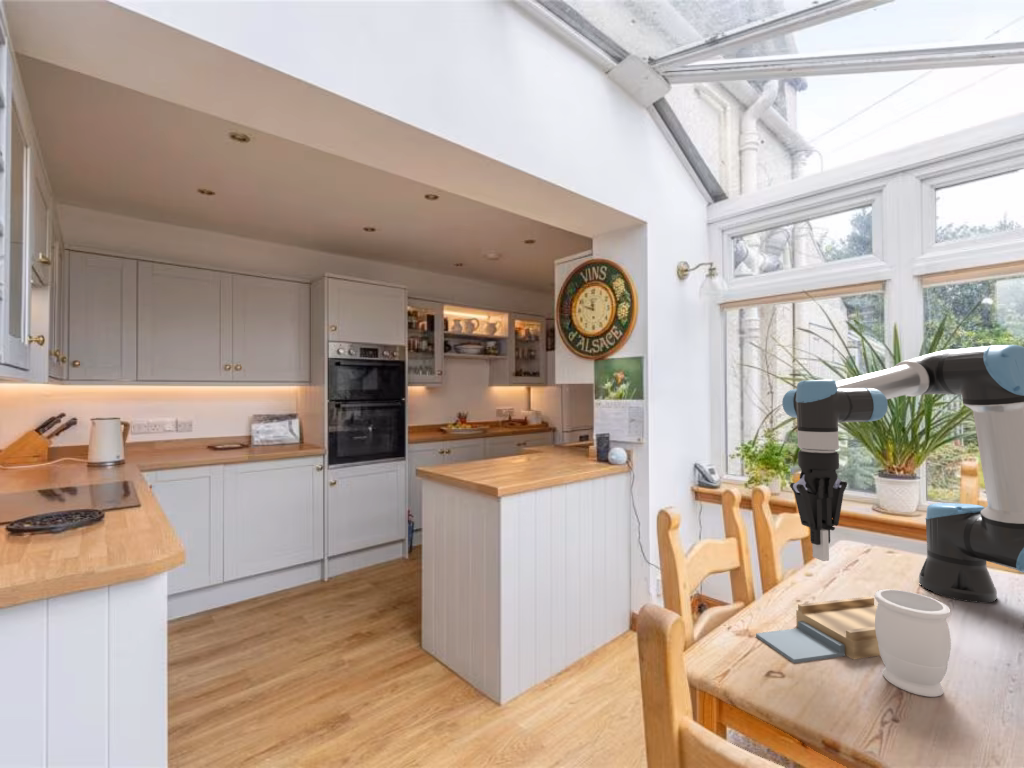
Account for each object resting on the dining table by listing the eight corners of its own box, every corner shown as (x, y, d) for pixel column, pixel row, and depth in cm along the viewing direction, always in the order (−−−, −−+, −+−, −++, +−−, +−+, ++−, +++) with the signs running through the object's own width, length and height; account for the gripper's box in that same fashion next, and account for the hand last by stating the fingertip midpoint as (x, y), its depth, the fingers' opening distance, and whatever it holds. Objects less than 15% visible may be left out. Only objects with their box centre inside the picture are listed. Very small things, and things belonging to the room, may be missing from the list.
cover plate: (802, 632, 105) (802, 620, 105) (844, 658, 95) (844, 644, 95) (756, 639, 103) (755, 626, 103) (794, 665, 92) (793, 651, 93)
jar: (966, 696, 82) (965, 609, 83) (924, 707, 79) (923, 617, 80) (901, 662, 93) (900, 585, 93) (861, 671, 90) (860, 591, 90)
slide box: (868, 616, 112) (868, 595, 112) (932, 648, 98) (932, 623, 98) (796, 625, 107) (796, 603, 107) (853, 659, 94) (852, 634, 94)
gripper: (827, 447, 109) (830, 550, 108) (779, 449, 106) (782, 555, 105) (858, 451, 101) (861, 561, 101) (807, 453, 98) (810, 567, 98)
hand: (820, 558), depth 103 cm, fingers closed
